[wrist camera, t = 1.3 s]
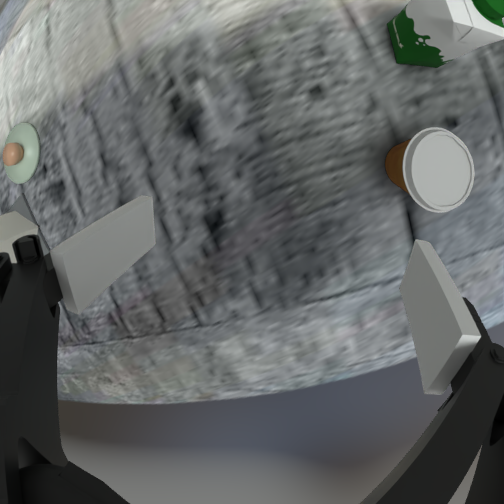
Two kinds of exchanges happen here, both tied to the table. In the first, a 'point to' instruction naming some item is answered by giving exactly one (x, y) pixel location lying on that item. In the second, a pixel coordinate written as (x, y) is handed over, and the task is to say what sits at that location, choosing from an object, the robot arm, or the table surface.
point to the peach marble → (12, 154)
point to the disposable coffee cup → (432, 169)
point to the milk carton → (444, 29)
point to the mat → (25, 211)
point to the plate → (31, 145)
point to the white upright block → (14, 231)
